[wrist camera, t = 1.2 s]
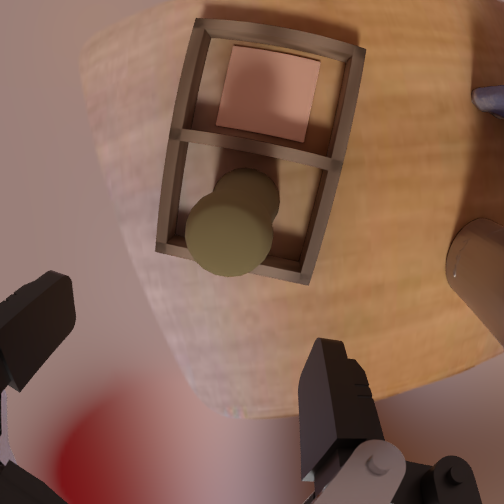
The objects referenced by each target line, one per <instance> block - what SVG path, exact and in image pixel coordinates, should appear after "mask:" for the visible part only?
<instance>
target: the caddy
mask: <svg viewBox="0 0 504 504" xmlns="http://www.w3.org/2000/svg"><path fill="white" fill-rule="evenodd" d="M211 38H222V39H232V40H241V41H248V42H256V43H262V44H268V45H274V46H280V47H285V48H290V49H295V50H299V51H304V52H308V53H312V54H316V55H320V56H324V57H328V58H331V59H335V60H339V61H342V62H345V63H346V66H345V71H344V77H343V82H342V87H341V92H340V97H339V102H338V106H337V111H336V116H335V120H334V125H333V129H332V134H331V138H330V143H329V147H328V152H327V156H326V157H325V156H321V155H318V154H314V153H310V152H306V151H302V150H297V149H293V148H289V147H284V146H280V145H275V144H271V143H266V142H261V141H256V140H251V139H246V138H240V137H235V136H229V135H223V134H217V133H210V132H204V131H197V130H191V126H192V120H193V115H194V110H195V105H196V100H197V95H198V91H199V86H200V82H201V77H202V73H203V68H204V64H205V60H206V56H207V52H208V48H209V44H210V40H211ZM365 54H366V49H364V48H361V47H358V46H355V45H352V44H349V43H345V42H342V41H339V40H335V39H331V38H328V37H324V36H320V35H316V34H312V33H307V32H303V31H298V30H294V29H288V28H283V27H278V26H272V25H265V24H258V23H251V22H242V21H233V20H221V19H203V18H196V19H195V23H194V26H193V30H192V34H191V37H190V41H189V45H188V49H187V53H186V57H185V61H184V65H183V69H182V73H181V78H180V82H179V87H178V92H177V96H176V101H175V106H174V112H173V117H172V122H171V128H170V134H169V140H168V146H167V152H166V159H165V165H164V173H163V180H162V188H161V196H160V205H159V214H158V224H157V236H156V248H155V252H159V253H163V254H167V255H171V256H176V257H180V258H184V259H189V260H193V261H195V260H194V259H193V257H192V255H191V254H190V252H189V250H188V248H187V244H186V240H185V237H182V236H178V235H175V232H176V224H177V216H178V208H179V200H180V193H181V186H182V179H183V172H184V166H185V160H186V154H187V148H188V142H192V143H199V144H205V145H211V146H217V147H223V148H229V149H234V150H240V151H245V152H250V153H255V154H260V155H265V156H270V157H274V158H279V159H283V160H288V161H292V162H296V163H301V164H305V165H309V166H313V167H317V168H321V169H323V173H322V177H321V181H320V185H319V189H318V193H317V197H316V201H315V205H314V209H313V212H312V216H311V220H310V224H309V228H308V231H307V235H306V239H305V242H304V246H303V250H302V253H301V257H300V260H299V262H297V261H293V260H288V259H283V258H279V257H274V256H270V255H267V256H266V258H265V260H264V261H263V262H262V263H261V264H260V265H258V266H257V267H256V268H255V269H254V270H253V271H251V272H248V273H252V274H256V275H261V276H265V277H270V278H275V279H279V280H284V281H289V282H294V283H299V284H303V285H308V286H309V283H310V280H311V277H312V274H313V270H314V267H315V264H316V261H317V257H318V254H319V251H320V247H321V244H322V240H323V237H324V233H325V230H326V226H327V223H328V219H329V215H330V212H331V208H332V204H333V201H334V197H335V193H336V189H337V185H338V181H339V177H340V173H341V169H342V165H343V161H344V157H345V153H346V149H347V144H348V140H349V135H350V131H351V126H352V122H353V117H354V112H355V108H356V103H357V98H358V93H359V87H360V82H361V77H362V71H363V66H364V60H365ZM320 63H321V62H318V61H314V60H310V59H306V58H302V57H297V56H293V55H288V54H283V53H278V52H272V51H266V50H260V49H254V48H247V47H239V46H233V49H232V53H231V57H230V62H229V66H228V70H227V75H226V79H225V84H224V88H223V93H222V97H221V102H220V107H219V112H218V117H217V122H216V126H223V127H229V128H235V129H240V130H246V131H251V132H256V133H262V134H266V135H271V136H276V137H281V138H285V139H290V140H294V141H298V142H302V143H304V138H305V134H306V129H307V125H308V120H309V116H310V111H311V106H312V102H313V97H314V92H315V87H316V83H317V78H318V73H319V68H320Z"/></svg>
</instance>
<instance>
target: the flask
mask: <svg viewBox="0 0 504 504" xmlns="http://www.w3.org/2000/svg"><path fill="white" fill-rule="evenodd" d="M473 92H474V93H473ZM473 92H472V94H473V95H472V103H473V104H474V105H475V106H476V107H477V108H478V109H480V110H481V111H482V112H489V113H491V114H492V115H493V116H495V117H496V118H499V119H504V85H500V86H490V87H484V88H477V89H475V90H473Z"/></svg>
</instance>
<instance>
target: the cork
mask: <svg viewBox="0 0 504 504" xmlns="http://www.w3.org/2000/svg"><path fill="white" fill-rule="evenodd" d="M279 204H280V200H279V193H278V190H277V188H276V186H275V184H274V182H273V181H272V180H271V179H270V178H269V177H268V176H267V175H266V174H264V173H262V172H260V171H258V170H256V169H250V168H241V169H235V170H233V171H231V172H229V173H227V174H225V175H224V176H223V177H222V178H221V179H220V180H219V181H218V182H217V184H216V187H215V189H214V191H213V192H212V193H210V194H208V195H206V196H205V197H203V198H201V199H200V200H199V201H198V203H197V204H196V205H195V206H194V207H193V208H192V209H191V212H190V214H189V216H188V218H187V221H186V228H185V240H186V244H187V248H188V250H189V252H190V254H191V255H192V257H193V259H194V260H195V261H196V262H197V263H198V264H199V265H200V266H201V267H202V268H203V269H205V270H207V271H209V272H211V273H213V274H215V275H219V276H225V277H234V276H241V275H244V274H246V273H248V272H251V271H253V270H254V269H255V268H256V267H257V266H258V265H260V264H261V263H262V262H263V261H264V260H265V258H266V256H267V254H268V253H269V251H270V249H271V245H272V240H273V227H272V222H273V220H274V219H275V217H276V215H277V213H278V209H279Z"/></svg>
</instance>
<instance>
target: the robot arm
mask: <svg viewBox="0 0 504 504" xmlns="http://www.w3.org/2000/svg"><path fill="white" fill-rule="evenodd" d="M446 276H447V280H448V283H449V285H450V287H451V288H452V289H453V290H454V291H455V292H456V293H457V294H458V296H459V297H460V298H461V299H462V300H463V301H464V302H465V303H466V304H467V305H468V307H469V308H470V309H471V310H472V311H473V312H474V313H475V315H476V316H477V317H478V318H479V319H480V320H481V321H482V322H483V324H484V325H485V326H486V327H487V328H488V329H489V331H490V332H491V333H492V334H493V335H494V337H495V338H496V339H497V340H498V341H499V343H500V344H501V345H502V346H503V348H504V227H503V226H501V225H499V224H497V223H495V222H493V221H491V220H489V219H484V218H481V219H476V220H474V221H472V222H470V223H469V224H467V225H466V226H465V227H464V228H463V229H462V230H461V231H460V232H459V233H458V234H457V236H456V238H455V239H454V241H453V243H452V245H451V247H450V249H449V253H448V256H447V261H446ZM75 320H76V312H75V306H74V297H73V289H72V281H71V279H70V278H69V276H66V275H63V274H61V273H58V272H55V271H52V270H50V271H48V272H46V273H45V274H43V275H42V276H41V277H39V278H38V279H37V280H35V281H33V282H31V283H28V284H26V285H24V286H22V287H21V288H19V289H18V290H17V291H15V292H14V294H13V295H10V296H9V297H8V298H6V301H3V302H1V303H0V504H68V503H67V502H65V501H64V500H63V499H62V498H61V497H59V496H58V495H57V494H56V493H55V492H54V491H53V490H52V489H50V488H49V487H48V486H47V485H46V484H45V483H44V482H43V481H41V480H39V479H38V478H36V477H34V476H33V475H31V474H30V473H28V472H27V471H25V470H24V469H22V468H21V467H19V466H18V465H17V464H16V460H15V458H14V455H13V453H12V451H11V449H10V446H9V440H8V426H7V395H6V392H5V388H6V387H7V385H9V386H11V387H12V388H14V389H15V390H17V391H18V392H21V390H22V389H23V388H24V387H25V385H26V384H27V383H28V382H29V380H30V379H31V378H32V377H33V375H34V374H35V373H36V372H37V371H38V370H39V368H40V367H41V366H42V365H43V364H44V362H45V361H46V360H47V359H48V358H49V356H50V355H51V354H52V353H53V352H54V351H55V349H56V348H57V347H58V346H59V345H60V344H61V343H62V341H63V340H64V339H65V338H66V337H67V336H68V335H69V334H70V332H71V331H72V330H73V328H74V325H75ZM298 400H299V419H300V420H299V421H300V445H301V480H302V481H314V484H315V491H314V492H313V493H312V494H311V495H310V496H309V497H308V499H307V500H306V501H305V502H304V503H303V504H482V502H481V498H480V494H479V491H478V488H477V484H476V480H475V477H474V474H473V471H472V469H471V467H470V466H469V464H468V463H467V462H466V461H465V460H463V459H462V458H460V457H457V456H446V457H444V458H442V459H441V460H439V461H438V462H437V463H436V464H435V465H434V466H429V465H423V464H418V463H413V462H409V461H405V459H404V456H403V455H402V453H401V452H400V450H399V449H398V448H396V447H395V446H394V445H392V444H391V443H389V442H386V441H385V439H384V436H383V432H382V428H381V425H380V421H379V418H378V414H377V410H376V407H375V403H374V400H373V399H372V393H371V390H370V388H369V383H368V380H367V377H366V374H365V371H364V370H363V369H362V367H361V366H360V365H359V364H358V362H357V361H356V360H355V359H348V358H347V354H346V350H345V347H344V344H343V342H342V341H338V340H331V339H324V338H317V339H316V341H315V342H314V345H313V347H312V350H311V352H310V355H309V357H308V359H307V362H306V364H305V366H304V369H303V371H302V373H301V376H300V380H299V386H298Z"/></svg>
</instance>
